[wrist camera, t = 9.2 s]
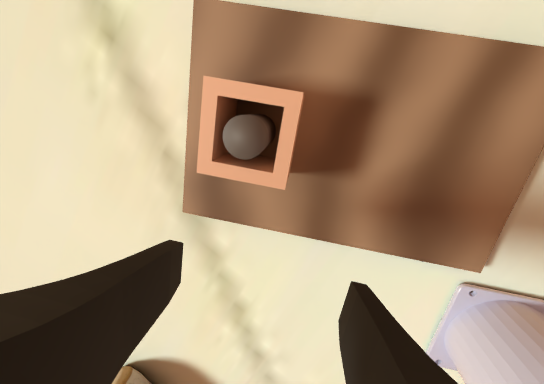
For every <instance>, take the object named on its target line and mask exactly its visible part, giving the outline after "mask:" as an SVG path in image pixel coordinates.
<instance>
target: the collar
mask: <svg viewBox="0 0 544 384" xmlns="http://www.w3.org/2000/svg"><path fill="white" fill-rule="evenodd" d="M238 99H241V100H247V101H253V102H259V103H264V104H270V105H276V106H282V107H284V111H283V117H282V123H281V129H280V135H279V141H278V147H277V152H276V158H275V159H274V158H269V157H264V156H258V155H257V156H256V157H254V158H252V159H247V160H243V159H238V158H236V157H234V156H233V155H231V154H230V153H229V152H228V151H227V149H226V147H225V145H224V142H223V130H224V127H225V125H226V124H227V122H228V121H229V120H230V119H232V118H233V117H235V116H236V109H237V100H238ZM303 100H304V92H298V91H292V90H286V89H280V88H274V87H268V86H262V85H256V84H251V83H245V82H239V81H233V80H227V79H221V78H215V77H209V76H203V89H202V103H201V117H200V131H199V145H198V159H197V173H200V174H206V175H211V176H216V177H221V178H226V179H231V180H236V181H241V182H246V183H252V184H257V185H262V186H267V187H272V188H277V189H282V190H285V188H286V185H287V181H288V177H289V173H290V168H291V163H292V158H293V152H294V147H295V142H296V137H297V132H298V126H299V121H300V116H301V111H302V105H303Z"/></svg>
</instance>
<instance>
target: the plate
mask: <svg viewBox="0 0 544 384" xmlns="http://www.w3.org/2000/svg"><path fill="white" fill-rule="evenodd" d="M203 76H209V77H215V78H221V79H227V80H233V81H239V82H245V83H251V84H256V85H262V86H268V87H274V88H280V89H286V90H292V91H298V92H304V100H303V105H302V111H301V116H300V121H299V126H298V132H297V137H296V142H295V147H294V152H293V158H292V163H291V168H290V173H289V177H288V181H287V185H286V188H285V190H282V189H277V188H272V187H267V186H262V185H257V184H252V183H246V182H241V181H236V180H231V179H226V178H221V177H216V176H211V175H206V174H200V173H197V159H198V145H199V131H200V117H201V103H202V89H203ZM283 111H284V107H282V106H276V105H270V104H264V103H259V102H253V101H247V100H241V99H238V100H237V109H236V116H235V117H233V118H232V119H230V120H229V121H228V122H227V124H226V125H225V127H224V130H223V142H224V145H225V147H226V149H227V151H228V152H229V153H230V154H231V155H233V156H234V157H236V158H238V159H243V160H247V159H252V158H254V157H256V156H257V155H258V156H264V157H269V158H274V159H275V158H276V152H277V147H278V141H279V135H280V129H281V123H282V117H283ZM543 147H544V47H541V46H534V45H527V44H520V43H513V42H506V41H499V40H492V39H485V38H478V37H471V36H464V35H457V34H450V33H443V32H436V31H429V30H422V29H415V28H408V27H401V26H394V25H387V24H380V23H373V22H366V21H359V20H352V19H345V18H338V17H331V16H324V15H317V14H310V13H303V12H296V11H289V10H282V9H275V8H268V7H261V6H254V5H247V4H240V3H233V2H226V1H219V0H194V6H193V25H192V44H191V63H190V82H189V101H188V119H187V138H186V157H185V176H184V195H183V212H185V213H189V214H194V215H199V216H204V217H209V218H214V219H219V220H224V221H229V222H233V223H238V224H243V225H248V226H253V227H258V228H263V229H268V230H273V231H277V232H282V233H287V234H292V235H297V236H302V237H307V238H312V239H317V240H322V241H326V242H331V243H336V244H341V245H346V246H351V247H356V248H361V249H366V250H370V251H375V252H380V253H385V254H390V255H395V256H400V257H405V258H410V259H414V260H419V261H424V262H429V263H434V264H439V265H444V266H449V267H454V268H459V269H463V270H468V271H473V272H478V273H481V271H482V269H483V267H484V265H485V263H486V261H487V259H488V257H489V255H490V253H491V251H492V249H493V247H494V245H495V243H496V241H497V239H498V237H499V235H500V233H501V231H502V229H503V227H504V225H505V223H506V221H507V219H508V217H509V215H510V213H511V211H512V209H513V207H514V205H515V203H516V201H517V199H518V197H519V195H520V193H521V191H522V189H523V187H524V185H525V183H526V181H527V179H528V177H529V175H530V173H531V171H532V169H533V167H534V165H535V163H536V161H537V159H538V157H539V155H540V153H541V151H542V149H543Z"/></svg>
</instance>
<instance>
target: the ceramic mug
mask: <svg viewBox="0 0 544 384" xmlns="http://www.w3.org/2000/svg"><path fill="white" fill-rule="evenodd" d="M112 384H151V383H150V382H149V381H148V380H147V379H146V378H145V377H144V376H143V375H142V374H141V373H140V372H139V371H137V370H135V369H134V368H132V367H130V366H124V367H122V368H121V370H120V371H119V373H118V374H117V376H116V378H115V379H114V381H113V382H112Z"/></svg>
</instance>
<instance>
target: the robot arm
mask: <svg viewBox="0 0 544 384" xmlns="http://www.w3.org/2000/svg"><path fill="white" fill-rule="evenodd" d="M182 255H183V243H182V242H177V241H173V240H168V241H165V242H163V243H160V244H158V245H155V246H153V247H151V248H148V249H146V250H144V251H141V252H139V253H136V254H134V255H132V256H129V257H127V258H125V259H122V260H119V261H117V262H114V263H111V264H109V265H106V266H103V267H101V268H98V269H95V270H92V271H90V272H86V273H83V274H80V275H77V276H74V277H70V278H67V279H64V280H60V281H56V282H52V283H48V284H44V285H40V286H36V287H32V288H28V289H24V290H19V291H14V292H9V293H4V294H0V384H112V382H113V381H114V379H115V378H116V376H117V374H118V373H119V371H120V370H121V368H122V366H123V365H124V363H125V362H126V360H127V359H128V358H129V356H130V355H131V353H132V352H133V350H134V349H135V348H136V346H137V345H138V344H139V342H140V341H141V340H142V339H143V337H144V336H145V335H146V333H147V332H148V331H149V329H150V328H151V327H152V325H153V324H154V323H155V321H156V320H157V319H158V317H159V316H160V315H161V313H162V312H163V310H164V309H165V308H166V306H167V305H168V304H169V302H170V300H171V299H172V297H173V295H174V293H175V292H176V290H177V288H178V286H179V284H180V283H181V269H182ZM470 291H473V292H471V293H469V292H470ZM339 341H340V350H341V357H342V363H343V369H344V375H345V380H346V384H458V383H457V382H456V381H455V380H453V379H452V378H451V377H450V376H449V375H448V374H447V373H446V372H445V371H444V370H443V369H442V368H441V367H444V368H448V369H452V370H457V371H458V372H459V374H460V375H461V377H462V379H463V381H464V382H465V384H544V300H542V299H537V298H532V297H527V296H523V295H518V294H513V293H508V292H503V291H499V290H494V289H489V288H484V287H479V286H474V285H470V284H460V285H458V286H457V288H456V290H455V292H454V294H453V296H452V298H451V300H450V302H449V304H448V307H447V309H446V311H445V313H444V315H443V317H442V319H441V321H440V323H439V326H438V328H437V330H436V332H435V334H434V336H433V338H432V340H431V342H430V345H429V347H428V349H427V351H426V353H425V352H424V350H423V349H422V348H421V347H420V346H419V345H418V344H417V343H416V342H415V341H414V340H413V339H412V338H411V337H410V336H409V334H408V333H407V332H406V331H405V330H404V329H403V328H402V326H401V325H400V324H399V323H398V322H397V321H396V320H395V318H394V317H393V316H392V315H391V314H390V312H389V311H388V310H387V309H386V308H385V306H384V305H383V304H382V303H381V301H380V300H379V299H378V298H377V297H376V295H375V294H374V293H373V292H372V290H371V289H370V288H369V287H368V286H367V285H366V284H361V283H357V282H353V281H351V284H350V287H349V290H348V293H347V296H346V299H345V302H344V305H343V308H342V311H341V314H340V318H339Z"/></svg>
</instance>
